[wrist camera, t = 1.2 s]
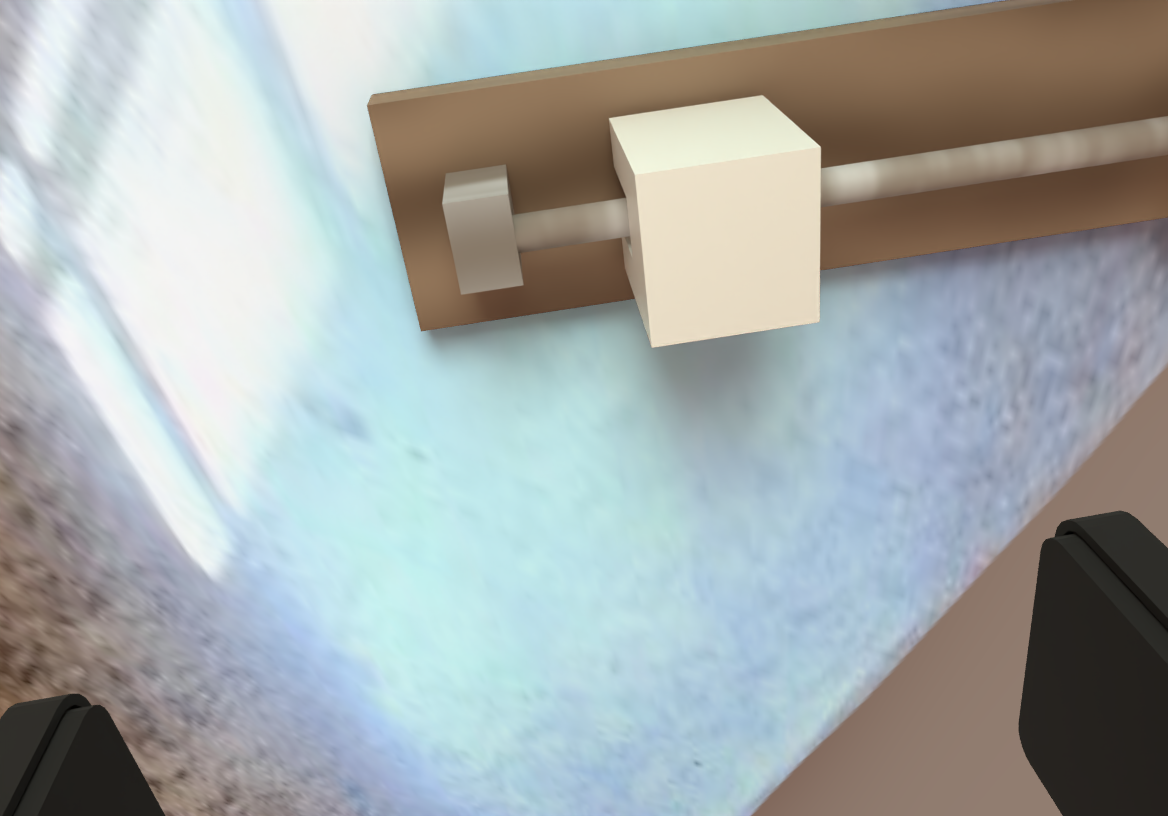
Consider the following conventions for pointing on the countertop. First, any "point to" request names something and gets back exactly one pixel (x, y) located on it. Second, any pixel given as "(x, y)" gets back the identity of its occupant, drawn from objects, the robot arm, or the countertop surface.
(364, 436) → the countertop surface
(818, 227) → the sleeve
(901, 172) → the linear slide rail
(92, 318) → the countertop surface
